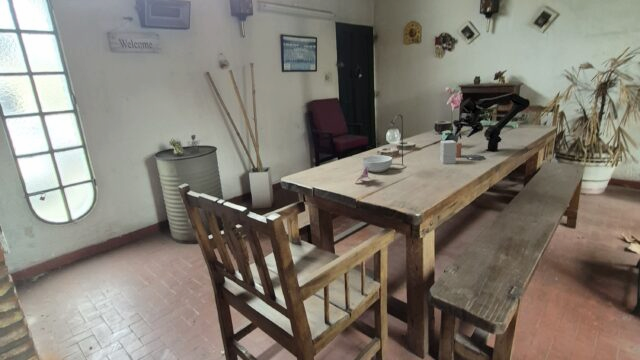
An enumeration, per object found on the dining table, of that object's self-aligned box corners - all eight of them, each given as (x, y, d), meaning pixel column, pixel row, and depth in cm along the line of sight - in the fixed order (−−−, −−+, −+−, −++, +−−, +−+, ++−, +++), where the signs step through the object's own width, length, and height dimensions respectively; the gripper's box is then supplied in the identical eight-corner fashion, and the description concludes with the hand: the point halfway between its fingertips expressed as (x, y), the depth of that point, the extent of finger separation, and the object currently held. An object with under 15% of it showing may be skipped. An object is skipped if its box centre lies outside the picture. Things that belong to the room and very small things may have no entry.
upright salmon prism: (454, 155, 214) (455, 142, 212) (460, 156, 211) (461, 143, 208) (450, 156, 212) (450, 143, 210) (456, 157, 209) (457, 144, 206)
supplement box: (452, 160, 202) (453, 139, 199) (455, 163, 195) (456, 142, 192) (439, 161, 203) (440, 140, 200) (442, 164, 196) (443, 142, 193)
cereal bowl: (374, 165, 203) (374, 153, 201) (398, 169, 192) (398, 157, 190) (356, 171, 192) (356, 159, 190) (380, 176, 181) (380, 163, 179)
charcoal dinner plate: (473, 155, 211) (473, 154, 211) (487, 158, 203) (488, 156, 202) (462, 158, 206) (462, 156, 206) (477, 161, 198) (477, 159, 198)
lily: (371, 180, 179) (362, 164, 178) (385, 176, 169) (375, 159, 168) (356, 191, 174) (346, 176, 173) (369, 188, 163) (359, 171, 162)
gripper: (455, 107, 215) (443, 126, 213) (482, 108, 200) (469, 129, 198) (462, 118, 221) (450, 137, 219) (489, 120, 206) (476, 141, 204)
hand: (461, 136), depth 210 cm, fingers open, 9 cm apart
